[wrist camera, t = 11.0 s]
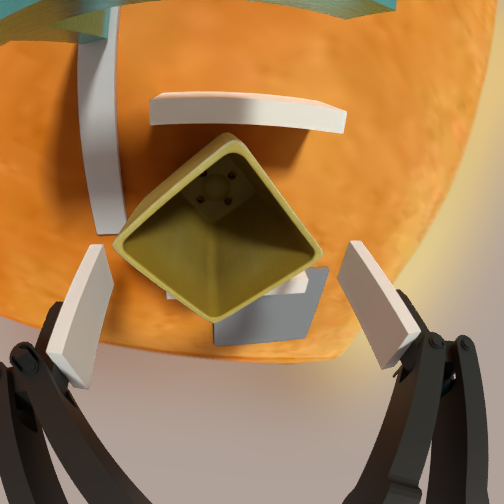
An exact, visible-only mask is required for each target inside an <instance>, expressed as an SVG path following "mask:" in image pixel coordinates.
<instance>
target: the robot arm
mask: <svg viewBox="0 0 504 504" xmlns="http://www.w3.org/2000/svg"><path fill="white" fill-rule="evenodd" d="M337 279H338V281H339V283H340V285H341V287H342V289H343V291H344V293H345V295H346V297H347V299H348V300H349V302H350V304H351V306H352V308H353V310H354V312H355V314H356V316H357V318H358V320H359V322H360V324H361V327H362V329H363V331H364V333H365V335H366V337H367V339H368V341H369V343H370V345H371V347H372V350H373V352H374V354H375V356H376V358H377V360H378V362H379V365H380V367H381V369H382V370H383V369H386V368H390V367H394V366H395V365H396V363H397V362H398V361H399V360H400V361H401V363H402V365H401V366H400V368H399V369H398V370H397V371H396V372H395V373H394V375H393V377H395V376H396V375H397V374H398V376H397V379H396V383H395V387H394V390H393V393H392V397H391V400H390V403H389V406H388V409H387V412H386V416H385V418H384V421H383V424H382V426H381V429H380V432H379V435H378V437H377V440H376V442H375V445H374V447H373V450H372V452H371V455H370V457H369V459H368V461H367V464H366V466H365V468H364V470H363V473H362V475H361V477H360V479H359V481H358V483H357V485H356V487H355V488H354V489H353V490H352V491H351V492H350V493H349V494H348V496H347V497H346V498H345V500H344V501H343V503H342V504H419V502H420V500H421V496H422V490H421V489H420V488H419V487H418V484H419V480H420V477H421V474H422V471H423V468H424V465H425V461H426V458H427V454H428V451H429V447H430V443H431V440H432V447H431V462H430V463H431V464H430V474H429V482H428V491H427V498H426V504H489V498H488V493H487V482H488V431H487V418H486V408H485V400H484V392H483V385H482V379H481V373H480V368H479V363H478V358H477V353H476V349H475V345H474V343H473V341H472V340H471V339H470V338H469V337H467V336H465V335H460V336H458V338H457V339H456V340H455V341H444V339H443V338H442V337H441V336H440V335H439V334H437V333H434V332H430V331H429V330H428V329H427V327H426V325H425V323H424V322H423V320H422V319H421V317H420V315H419V314H418V312H417V311H416V310H415V308H414V306H413V305H412V303H411V302H410V300H409V298H408V297H407V296H406V295H405V294H404V293H403V292H402V291H401V290H399V289H398V290H395V289H394V287H393V286H392V284H391V283H390V281H389V280H388V278H387V277H386V275H385V274H384V272H383V271H382V269H381V268H380V267H379V265H378V264H377V262H376V261H375V259H374V258H373V257H372V255H371V254H370V253H369V251H368V250H367V248H366V247H365V246H364V244H363V243H362V242H361V241H349V244H348V247H347V250H346V253H345V256H344V259H343V262H342V265H341V268H340V271H339V274H338V277H337ZM113 286H114V282H113V279H112V275H111V272H110V269H109V265H108V261H107V258H106V254H105V250H104V246H103V244H95V245H90V246H89V248H88V250H87V252H86V254H85V256H84V258H83V260H82V262H81V264H80V266H79V269H78V271H77V273H76V275H75V277H74V279H73V282H72V284H71V286H70V288H69V291H68V293H67V296H66V298H65V300H64V302H55V304H54V305H53V306H52V307H51V308H50V309H49V312H48V314H47V317H46V320H45V322H44V324H43V328H42V329H41V332H40V335H39V337H38V340H37V343H36V346H35V348H34V347H33V345H32V344H30V343H29V342H21V343H19V344H17V345H16V346H15V347H14V348H13V349H12V351H11V353H10V357H9V358H10V363H11V364H12V366H13V367H9V368H7V367H6V366H5V365H4V364H3V363H2V362H0V477H1V480H2V483H3V486H4V490H5V493H6V496H7V499H8V502H9V504H68V502H67V500H66V497H65V495H64V493H63V490H62V488H61V485H60V483H59V481H58V478H57V475H56V472H55V470H54V467H53V464H52V461H51V458H50V454H49V451H48V448H47V445H46V441H45V437H44V434H43V430H44V432H45V434H46V436H47V438H48V440H49V442H50V444H51V446H52V448H53V449H54V451H55V453H56V455H57V457H58V458H59V460H60V462H61V463H62V465H63V467H64V468H65V470H66V472H67V473H68V475H69V476H70V478H71V479H72V481H73V482H74V484H75V485H76V487H77V488H78V490H79V491H80V493H81V494H82V495H83V497H84V498H85V499H86V501H87V502H88V503H89V504H152V503H151V502H150V501H149V500H148V499H147V498H146V497H145V496H144V494H143V493H142V492H141V491H140V490H139V489H138V488H137V487H136V486H135V485H134V483H133V482H132V481H131V480H130V479H129V478H128V476H127V475H126V474H125V473H124V472H123V470H122V469H121V468H120V467H119V465H118V464H117V463H116V462H115V460H114V459H113V458H112V456H111V455H110V454H109V452H108V451H107V450H106V449H105V447H104V445H103V444H102V443H101V441H100V440H99V438H98V437H97V435H96V434H95V432H94V431H93V429H92V428H91V426H90V425H89V423H88V422H87V420H86V418H85V417H84V415H83V414H82V412H81V410H80V409H79V407H78V405H77V403H76V402H75V400H74V398H73V396H72V394H71V393H70V391H69V390H68V389H67V387H68V383H69V382H70V383H71V384H72V385H73V387H76V388H82V389H89V386H90V380H91V375H92V370H93V365H94V360H95V355H96V351H97V346H98V342H99V338H100V334H101V330H102V326H103V322H104V318H105V314H106V311H107V307H108V303H109V300H110V296H111V293H112V290H113ZM454 374H456V379H454V376H453V375H454ZM42 428H43V430H42Z"/></svg>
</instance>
